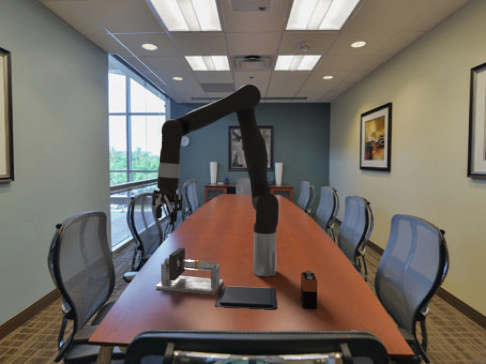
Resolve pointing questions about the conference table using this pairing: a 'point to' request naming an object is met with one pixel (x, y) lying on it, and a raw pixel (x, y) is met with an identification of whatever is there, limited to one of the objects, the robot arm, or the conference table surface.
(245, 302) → the wallet
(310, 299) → the battery
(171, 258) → the dark grey wedge plate
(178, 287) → the pipe stand
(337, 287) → the conference table surface
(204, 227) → the conference table surface
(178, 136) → the robot arm
